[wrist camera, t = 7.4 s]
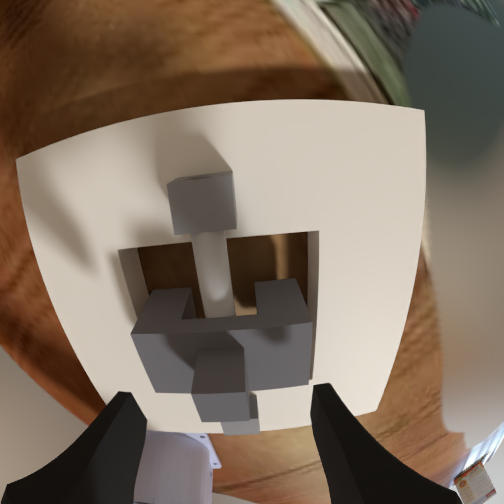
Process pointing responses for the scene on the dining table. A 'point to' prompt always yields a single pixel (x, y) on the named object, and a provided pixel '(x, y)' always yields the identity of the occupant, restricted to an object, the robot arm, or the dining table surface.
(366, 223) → the white slotted board
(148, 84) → the dining table surface
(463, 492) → the cracker box
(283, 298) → the grey notched block
